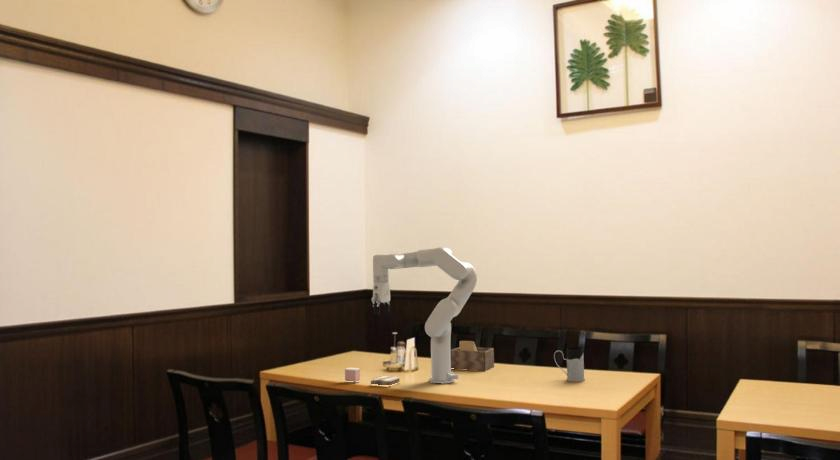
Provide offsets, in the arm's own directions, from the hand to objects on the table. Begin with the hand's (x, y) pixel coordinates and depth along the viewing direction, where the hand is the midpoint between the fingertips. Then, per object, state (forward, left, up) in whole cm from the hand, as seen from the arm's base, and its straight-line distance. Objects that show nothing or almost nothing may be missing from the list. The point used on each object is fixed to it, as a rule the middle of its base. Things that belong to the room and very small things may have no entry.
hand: (381, 313), depth 332 cm
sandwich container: (-30, -45, -33) cm, 63 cm away
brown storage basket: (-30, -44, -32) cm, 62 cm away
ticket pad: (-8, +12, -32) cm, 35 cm away
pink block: (+10, +12, -32) cm, 36 cm away
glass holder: (-86, -29, -32) cm, 96 cm away
